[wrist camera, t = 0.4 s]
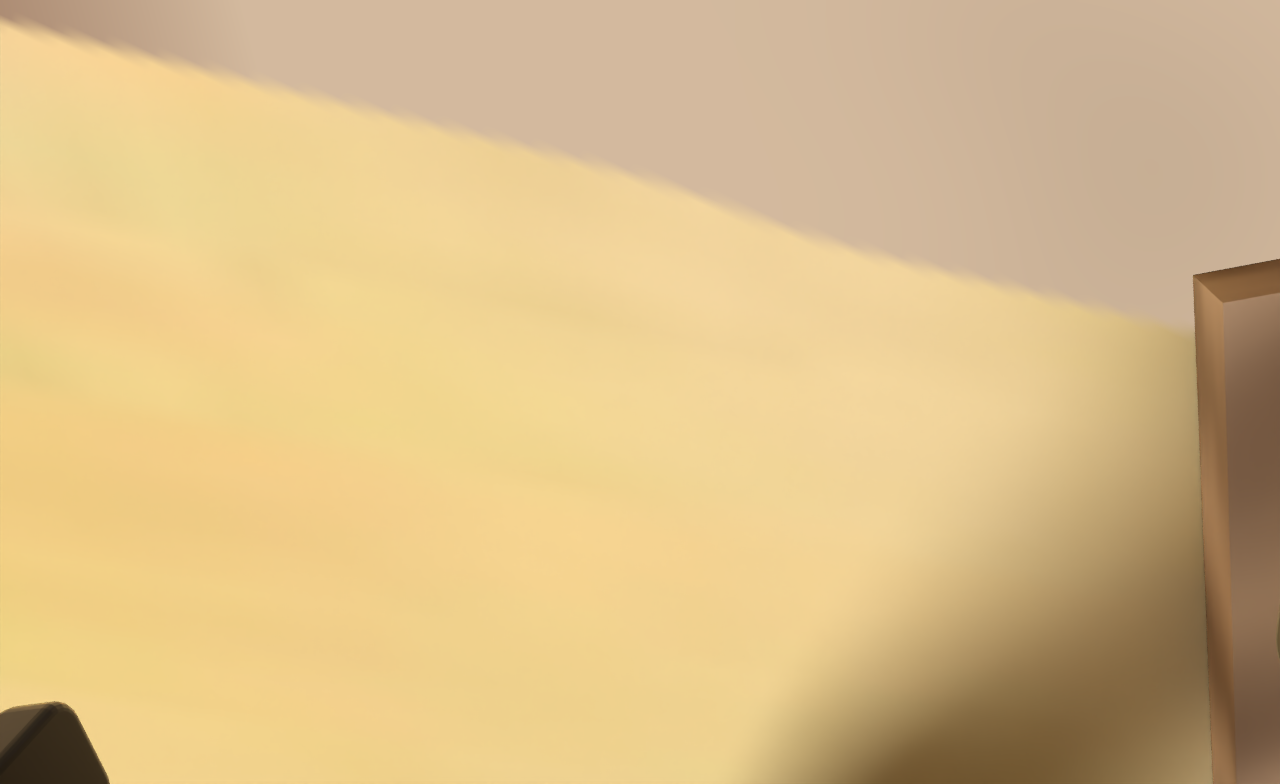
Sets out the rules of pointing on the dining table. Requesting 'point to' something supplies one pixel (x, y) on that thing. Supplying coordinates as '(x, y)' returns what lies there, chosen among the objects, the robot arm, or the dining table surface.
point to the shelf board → (1241, 513)
